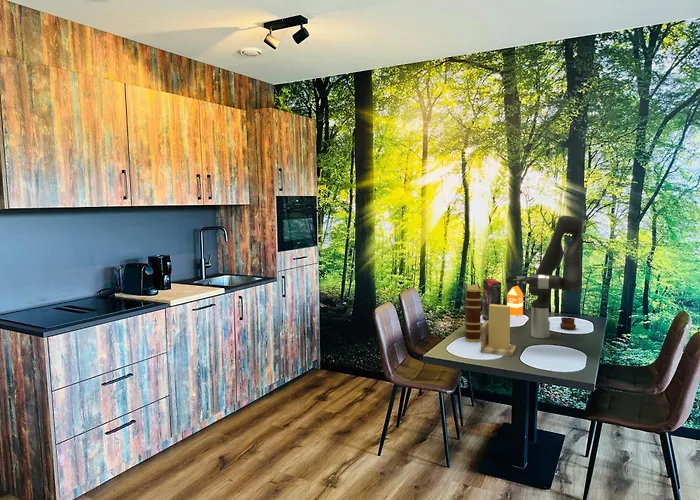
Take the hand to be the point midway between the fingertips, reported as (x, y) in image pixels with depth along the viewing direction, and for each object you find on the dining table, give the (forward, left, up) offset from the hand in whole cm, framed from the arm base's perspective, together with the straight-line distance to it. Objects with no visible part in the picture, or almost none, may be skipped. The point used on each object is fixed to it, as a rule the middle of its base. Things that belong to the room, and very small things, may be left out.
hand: (507, 279), depth 258 cm
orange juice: (-27, -74, -36) cm, 87 cm away
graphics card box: (-6, -55, -36) cm, 66 cm away
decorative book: (+15, -17, -36) cm, 43 cm away
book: (+7, +10, -34) cm, 36 cm away
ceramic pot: (-47, -35, -37) cm, 69 cm away
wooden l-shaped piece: (+7, +10, -36) cm, 38 cm away
